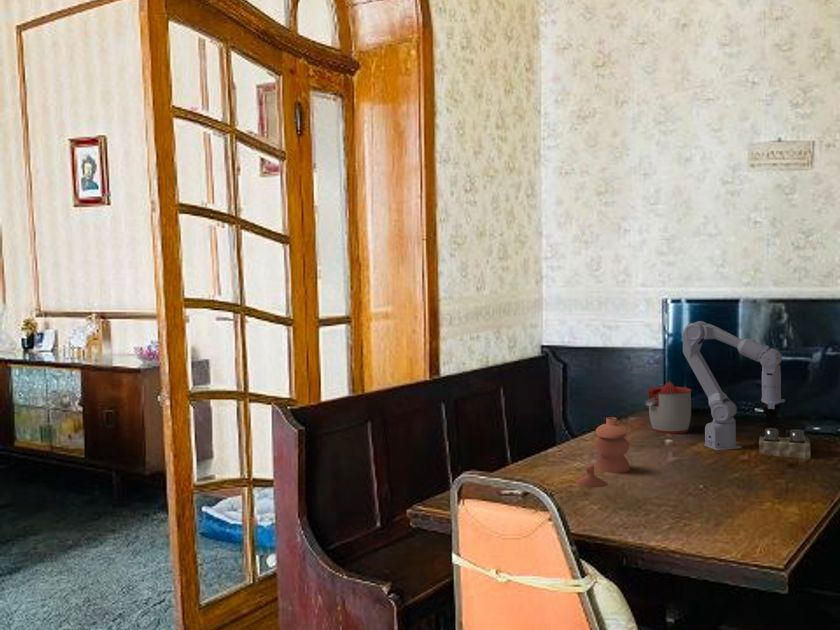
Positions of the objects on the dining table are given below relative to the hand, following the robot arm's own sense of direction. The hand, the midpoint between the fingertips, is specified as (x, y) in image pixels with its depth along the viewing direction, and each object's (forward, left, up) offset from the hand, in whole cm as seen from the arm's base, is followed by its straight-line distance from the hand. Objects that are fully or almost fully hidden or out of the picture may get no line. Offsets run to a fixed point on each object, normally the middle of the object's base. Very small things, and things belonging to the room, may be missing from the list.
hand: (771, 426), depth 257 cm
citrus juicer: (-14, +40, -10) cm, 44 cm away
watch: (+15, +8, -7) cm, 18 cm away
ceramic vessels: (-70, -17, -10) cm, 73 cm away
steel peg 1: (0, 0, -6) cm, 6 cm away
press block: (+3, -2, -9) cm, 10 cm away
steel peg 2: (+6, -5, -6) cm, 10 cm away
